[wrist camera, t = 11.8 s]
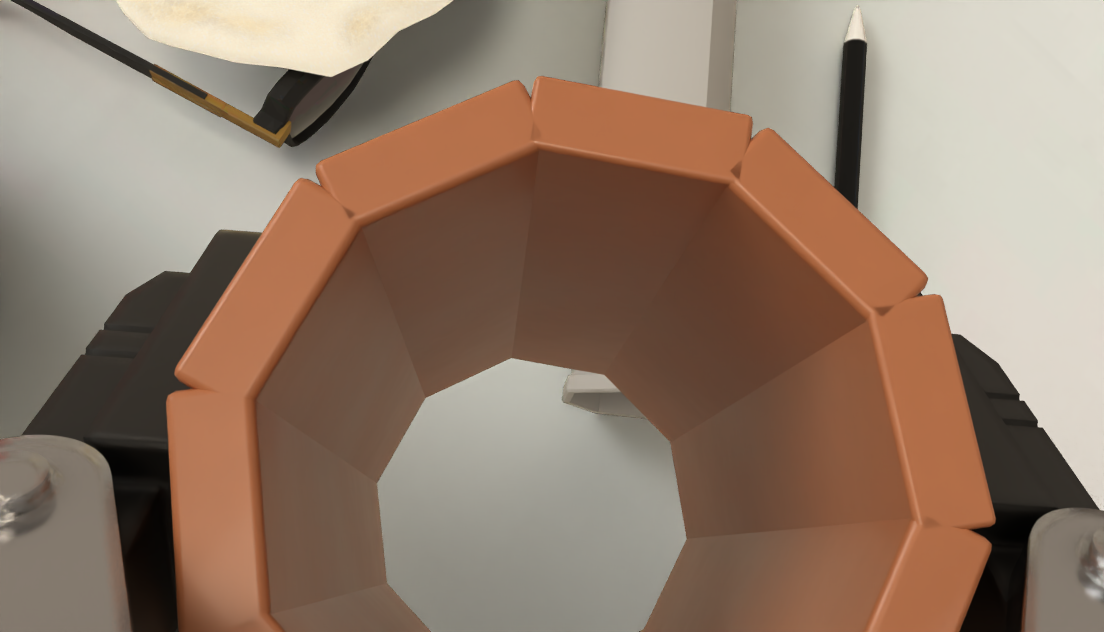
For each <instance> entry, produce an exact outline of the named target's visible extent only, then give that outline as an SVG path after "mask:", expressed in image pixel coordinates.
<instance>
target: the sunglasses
mask: <svg viewBox="0 0 1104 632" xmlns="http://www.w3.org/2000/svg"><path fill="white" fill-rule="evenodd" d="M11 1H13V2H15V3H17V4H19V5H21V6H22V7H24V8H26V9H28V10H30V11H31V12H33V13H35V14H37V15H38V16H40V17H42V18H44V19H45V20H47V21H49V22H50V23H52V24H54V25H55V26H57V27H59V28H60V29H62V30H64V31H66V32H67V33H69V34H71V35H72V36H74V37H76V38H78V39H80V40H82V41H83V42H85V43H87V44H89V45H91V46H93V47H95V48H96V49H98V50H100V51H102V52H104V53H106V54H107V55H109V56H111V57H113V58H115V59H117V60H118V61H120V62H122V63H124V64H126V65H128V66H130V67H131V68H133V69H135V70H137V71H139V72H141V73H142V74H144V75H146V76H148V77H150V78H152V80H153V81H154V82H156V83H158V84H160V85H161V86H163V87H165V88H167V89H169V90H171V91H172V92H174V93H176V94H178V95H180V96H182V97H184V98H185V99H187V100H189V101H191V102H193V103H195V104H197V105H198V106H200V107H202V108H204V109H206V110H208V111H210V112H211V113H213V114H215V115H217V116H219V117H223V118H225V119H227V120H229V121H230V122H232V123H234V124H236V125H238V126H240V127H241V128H243V129H245V130H247V131H249V132H251V133H253V134H254V135H256V136H258V137H260V138H262V139H264V140H266V141H267V142H269V143H271V144H273V145H275V146H277V147H279V148H280V147H281V146H282V144H283V143H286V144H287V145H289V146H291V147H295V146H298V145H300V144H301V143H303V142H304V141H306V140H307V139H308V138H310V137H311V136H312V135H313V134H315V133H316V132H317V131H318V130H319V129H320V128H321V127H322V126H323V125H324V124H325V123H327V121H328V120H329V119H330V118H331V117H332V116H333V114H334V113H335V112H336V111H337V110H338V109H339V107H340V106H341V105H342V104H343V102H344V101H345V100H346V99H347V97H348V96H349V95H350V94H351V92H352V91H353V90H354V88H355V87H356V85H357V83H358V82H359V80H360V78H361V77H362V75H363V73H364V72H365V70H366V68H367V66H368V65H369V63H370V61H371V59H372V57H373V56H372V57H371V58H370V59H369V60H367V61H365V62H363V63H361V64H359V65H356V66H354V67H352V68H350V69H348V70H346V71H343V72H341V73H339V74H337V75H335V76H332V77H328V76H323V75H318V74H313V73H308V72H302V71H297V70H292V69H289V70H288V71H287V72H286V73H285V74H284V75H283V77H282V78H281V79H280V80H279V81H278V82H277V83H276V84H275V86H274V87H273V88H272V90H271V91H270V92H269V94H268V95H267V97H266V100H265V102H264V104H263V107H262V109H261V110H260V111H259V113H258V114H257V115H256V116H255V117H254V118H253V117H251V116H249V115H247V114H245V113H244V112H242V111H240V110H238V109H236V108H234V107H233V106H231V105H229V104H227V103H225V102H224V101H222V100H220V99H218V98H216V97H214V96H213V95H211V94H209V93H207V92H205V91H203V90H202V89H200V88H198V87H196V86H194V85H192V84H191V83H189V82H187V81H185V80H183V79H181V78H180V77H178V76H176V75H174V74H172V73H170V72H169V71H167V70H165V69H163V68H161V67H159V66H158V65H156V64H154V65H153V64H151V63H150V62H148V61H146V60H144V59H142V58H140V57H138V56H136V55H135V54H133V53H131V52H129V51H127V50H125V49H123V48H121V47H120V46H118V45H116V44H114V43H112V42H110V41H108V40H106V39H105V38H103V37H101V36H99V35H97V34H95V33H93V32H91V31H90V30H88V29H86V28H84V27H82V26H80V25H78V24H76V23H75V22H73V21H71V20H69V19H67V18H65V17H63V16H61V15H59V14H57V13H56V12H54V11H52V10H50V9H48V8H46V7H44V6H42V5H41V4H39V3H37V2H35V1H33V0H11Z"/></svg>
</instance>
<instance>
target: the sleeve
mask: <svg viewBox="0 0 1104 632" xmlns="http://www.w3.org/2000/svg"><path fill="white" fill-rule="evenodd" d="M752 127H753V121H752V117H750V116H749V115H745V114H739V113H734V112H729V111H724V110H718V109H713V108H708V107H703V106H697V105H692V104H687V103H681V102H676V101H671V100H666V99H660V98H655V97H650V96H645V95H639V94H634V93H629V92H623V91H618V90H613V89H608V88H602V87H597V86H592V85H587V84H581V83H576V82H571V81H565V80H560V79H555V78H550V77H544V76H538V77H537V78H536V79H535V81H534V84H533V89H532V94H531V97H530V96H529V94H528V92H527V90H526V88H525V86H524V85H523V84H522V83H521V82H520V81H519V80H518V81H511V82H509V83H507V84H504V85H502V86H499V87H497V88H495V89H492V90H490V91H487V92H485V93H483V94H480V95H478V96H475V97H473V98H471V99H468V100H466V101H463V102H461V103H459V104H456V105H454V106H451V107H449V108H447V109H444V110H442V111H439V112H437V113H435V114H432V115H430V116H427V117H425V118H423V119H420V120H418V121H415V122H413V123H411V124H408V125H406V126H403V127H401V128H399V129H396V130H394V131H391V132H389V133H387V134H384V135H382V136H379V137H377V138H375V139H372V140H370V141H367V142H365V143H363V144H360V145H358V146H355V147H353V148H351V149H348V150H346V151H343V152H341V153H339V154H336V155H334V156H331V157H329V158H327V159H324V160H322V161H320V162H319V163H318V164H317V165H316V175H317V178H318V180H319V182H320V184H321V186H320V185H318V184H316V183H314V182H313V181H311V180H309V179H303V178H300V179H298V180H297V181H296V182H295V183H294V185H293V186H292V188H291V189H290V191H289V192H288V194H287V195H286V197H285V198H284V200H283V202H282V203H281V205H280V206H279V208H278V209H277V211H276V212H275V214H274V216H273V217H272V219H271V220H270V222H269V223H268V225H267V226H266V228H265V229H264V231H263V233H262V234H261V236H260V237H259V239H258V240H257V242H256V243H255V245H254V247H253V248H252V250H251V251H250V253H249V254H248V256H247V257H246V259H245V260H244V262H243V264H242V265H241V267H240V268H239V270H238V271H237V273H236V274H235V276H234V278H233V279H232V281H231V282H230V284H229V285H228V287H227V288H226V290H225V291H224V293H223V295H222V296H221V298H220V299H219V301H218V302H217V304H216V305H215V307H214V308H213V310H212V312H211V313H210V315H209V316H208V318H207V319H206V321H205V322H204V324H203V326H202V327H201V329H200V330H199V332H198V333H197V335H196V336H195V338H194V339H193V341H192V343H191V344H190V346H189V347H188V349H187V350H186V352H185V353H184V355H183V357H182V358H181V360H180V361H179V363H178V364H177V366H176V369H175V373H174V375H175V376H176V378H177V379H178V380H179V381H180V382H181V383H183V384H185V385H187V386H188V387H190V388H192V389H187V390H179V391H175V392H173V393H171V394H170V395H168V398H167V401H166V414H167V432H168V451H169V469H170V488H171V506H172V525H173V543H174V562H175V580H176V599H177V617H178V632H431V631H430V630H429V629H428V628H427V627H426V625H425V624H424V623H423V622H422V621H421V620H420V619H419V618H418V617H417V616H416V614H415V613H414V612H413V611H412V610H411V609H410V608H409V607H408V606H407V605H406V603H405V602H404V601H403V600H402V599H401V598H400V597H399V596H398V595H397V594H396V592H395V591H394V590H393V589H392V588H391V587H390V586H389V585H388V584H387V578H386V568H385V558H384V548H383V538H382V528H381V519H380V509H379V499H378V489H377V482H378V480H379V479H380V477H381V475H382V473H383V472H384V470H385V468H386V466H387V465H388V463H389V461H390V459H391V458H392V456H393V454H394V452H395V451H396V449H397V447H398V445H399V444H400V442H401V440H402V438H403V437H404V435H405V433H406V431H407V429H408V428H409V426H410V424H411V422H412V421H413V419H414V417H415V415H416V414H417V412H418V410H419V408H420V407H421V405H422V403H423V401H424V400H425V398H426V397H429V396H431V395H433V394H435V393H437V392H439V391H441V390H444V389H446V388H448V387H450V386H452V385H454V384H456V383H459V382H461V381H463V380H465V379H467V378H469V377H471V376H474V375H476V374H478V373H480V372H482V371H484V370H486V369H489V368H491V367H493V366H495V365H497V364H499V363H501V362H504V361H506V360H508V359H510V358H514V359H520V360H525V361H531V362H536V363H542V364H547V365H553V366H558V367H563V368H569V369H574V370H580V371H585V372H591V373H596V374H602V375H605V376H606V377H607V378H608V379H609V380H610V381H611V382H612V383H613V384H614V385H615V386H616V387H617V388H618V389H619V390H620V391H621V393H622V394H623V395H624V396H625V397H626V398H627V399H628V400H629V401H630V402H631V403H632V404H633V405H634V406H635V407H636V408H637V409H638V410H639V411H640V412H641V413H642V414H643V415H644V416H645V417H646V418H647V419H648V420H649V421H650V422H651V423H652V424H653V425H654V426H655V427H656V428H657V429H658V430H659V431H660V432H661V433H662V434H663V435H664V436H665V437H666V438H667V439H668V440H669V441H670V444H671V450H672V455H673V461H674V467H675V473H676V479H677V485H678V491H679V497H680V502H681V508H682V514H683V520H684V526H685V532H686V538H687V540H686V542H685V544H684V546H683V548H682V550H681V552H680V555H679V557H678V559H677V561H676V563H675V565H674V567H673V569H672V571H671V573H670V575H669V578H668V580H667V582H666V584H665V586H664V588H663V590H662V592H661V594H660V596H659V598H658V601H657V603H656V605H655V607H654V609H653V611H652V613H651V615H650V617H649V619H648V622H647V624H646V626H645V628H644V629H643V630H641V631H639V632H959V631H960V629H961V626H962V624H963V621H964V619H965V616H966V614H967V611H968V608H969V606H970V603H971V601H972V598H973V596H974V593H975V591H976V588H977V586H978V583H979V581H980V578H981V575H982V573H983V570H984V568H985V565H986V563H987V560H988V558H989V555H990V553H991V547H992V544H991V543H990V542H989V541H988V540H987V539H986V538H985V537H983V536H981V535H980V534H978V533H976V532H974V531H972V529H979V528H986V527H990V526H992V525H993V524H995V521H996V517H995V513H994V509H993V505H992V501H991V497H990V493H989V489H988V484H987V480H986V476H985V472H984V468H983V464H982V460H981V455H980V451H979V447H978V443H977V439H976V435H975V431H974V426H973V422H972V418H971V414H970V410H969V406H968V402H967V397H966V393H965V389H964V385H963V381H962V377H961V373H960V368H959V364H958V360H957V356H956V352H955V348H954V344H953V339H952V335H951V331H950V327H949V323H948V319H947V315H946V310H945V306H944V302H943V299H942V297H941V296H940V295H936V294H932V295H924V296H917V295H918V294H919V293H920V292H921V291H922V290H923V289H924V288H925V286H926V284H927V281H928V277H927V276H926V274H925V273H924V272H923V271H922V270H921V269H920V268H919V267H918V266H917V265H916V264H915V263H914V262H913V261H912V260H910V259H909V258H908V257H907V256H906V255H905V254H904V253H903V252H902V251H901V250H900V249H899V248H898V247H897V246H896V245H895V244H894V243H892V242H891V241H890V240H889V239H888V238H887V237H886V236H885V235H884V234H883V233H882V232H881V231H880V230H879V229H878V228H877V227H876V226H874V225H873V224H872V223H871V222H870V221H869V220H868V219H867V218H866V217H865V216H864V215H863V214H862V213H861V212H860V211H859V210H858V209H856V208H855V207H854V206H853V205H852V204H851V203H850V202H849V201H848V200H847V199H846V198H845V197H844V196H843V195H842V194H841V193H840V192H838V191H837V190H836V189H835V188H834V187H833V186H832V185H831V184H830V183H829V182H828V181H827V180H826V179H825V178H824V177H823V176H822V175H820V174H819V173H818V172H817V171H816V170H815V169H814V168H813V167H812V166H811V165H810V164H809V163H808V162H807V161H806V160H805V159H804V158H803V157H801V156H800V155H799V154H798V153H797V152H796V151H795V150H794V149H793V148H792V147H791V146H790V145H789V144H788V143H787V142H786V141H785V140H783V139H782V138H781V137H780V136H779V135H778V134H777V133H776V132H775V131H774V130H772V129H770V128H766V129H763V130H761V131H759V132H758V133H757V134H756V135H755V136H754V137H753V138H752V139H751V135H752Z"/></svg>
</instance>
